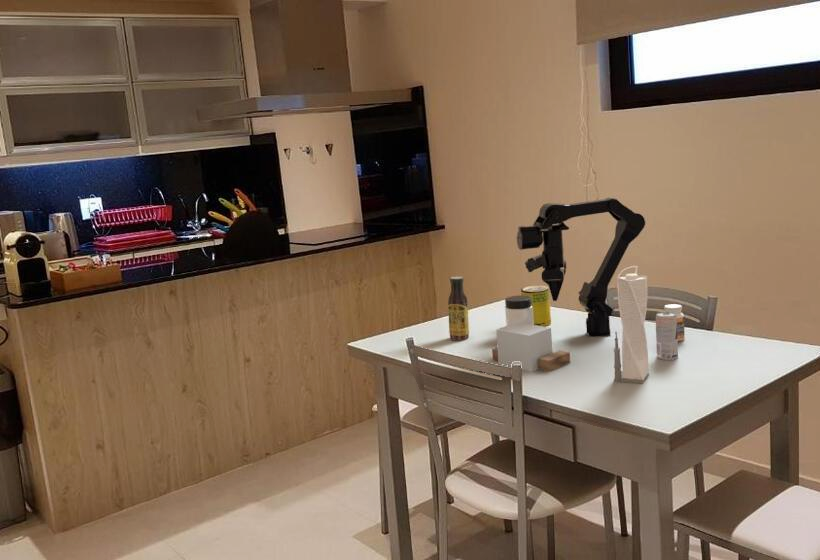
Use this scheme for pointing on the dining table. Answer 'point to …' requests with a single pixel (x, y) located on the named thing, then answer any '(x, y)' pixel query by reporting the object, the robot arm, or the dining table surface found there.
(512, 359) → the block
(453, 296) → the sauce bottle
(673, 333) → the energy drink
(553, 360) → the pair of brown bars
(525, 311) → the jar
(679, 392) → the dining table surface
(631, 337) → the skyscraper
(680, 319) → the pill bottle
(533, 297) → the yellow can
